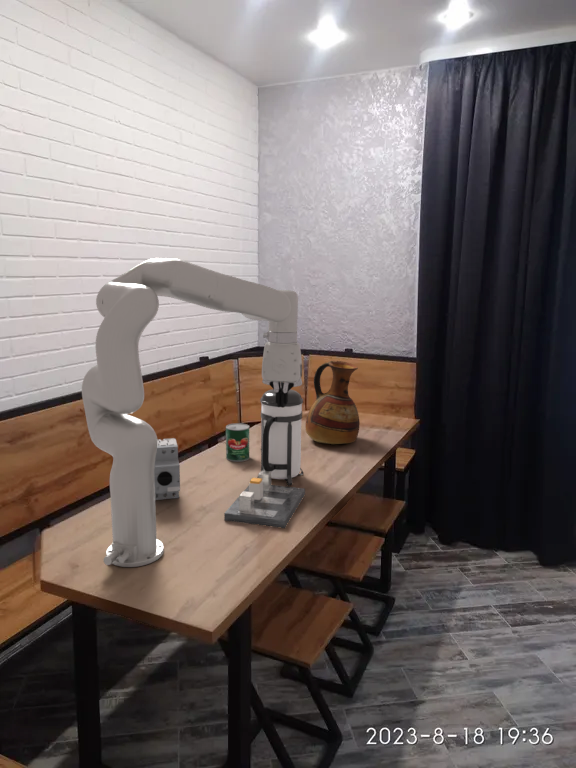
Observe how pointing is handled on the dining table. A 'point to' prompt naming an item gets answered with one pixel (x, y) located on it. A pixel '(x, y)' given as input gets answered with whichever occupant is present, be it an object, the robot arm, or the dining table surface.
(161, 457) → the circuit breaker
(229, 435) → the canned tomato
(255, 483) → the toggle
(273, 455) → the coffee press
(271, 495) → the panel
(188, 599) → the dining table surface
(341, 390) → the ceramic pitcher
